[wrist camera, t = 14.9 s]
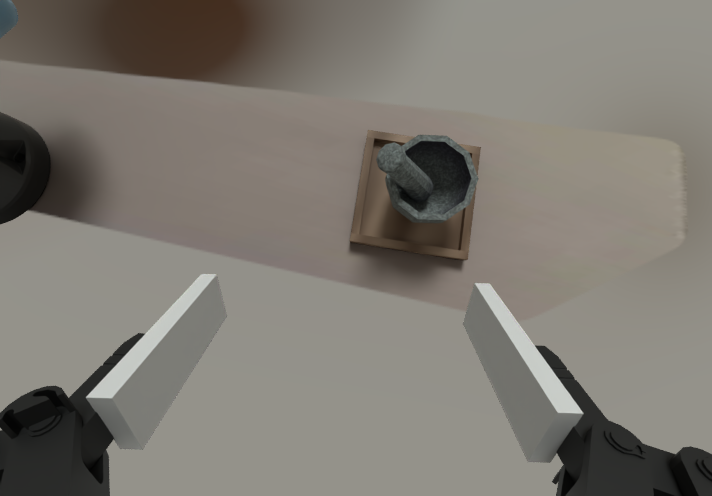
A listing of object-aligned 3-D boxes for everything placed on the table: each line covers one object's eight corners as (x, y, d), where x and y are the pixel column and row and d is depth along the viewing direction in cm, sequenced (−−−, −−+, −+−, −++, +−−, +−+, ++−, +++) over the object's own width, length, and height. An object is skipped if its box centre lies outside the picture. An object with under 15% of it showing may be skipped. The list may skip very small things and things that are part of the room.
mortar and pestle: (454, 163, 37) (503, 108, 25) (455, 232, 36) (505, 209, 24) (370, 160, 37) (378, 103, 25) (368, 228, 36) (375, 204, 24)
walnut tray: (350, 242, 36) (349, 240, 35) (367, 135, 38) (368, 129, 36) (462, 260, 36) (467, 259, 34) (475, 152, 38) (480, 147, 36)
